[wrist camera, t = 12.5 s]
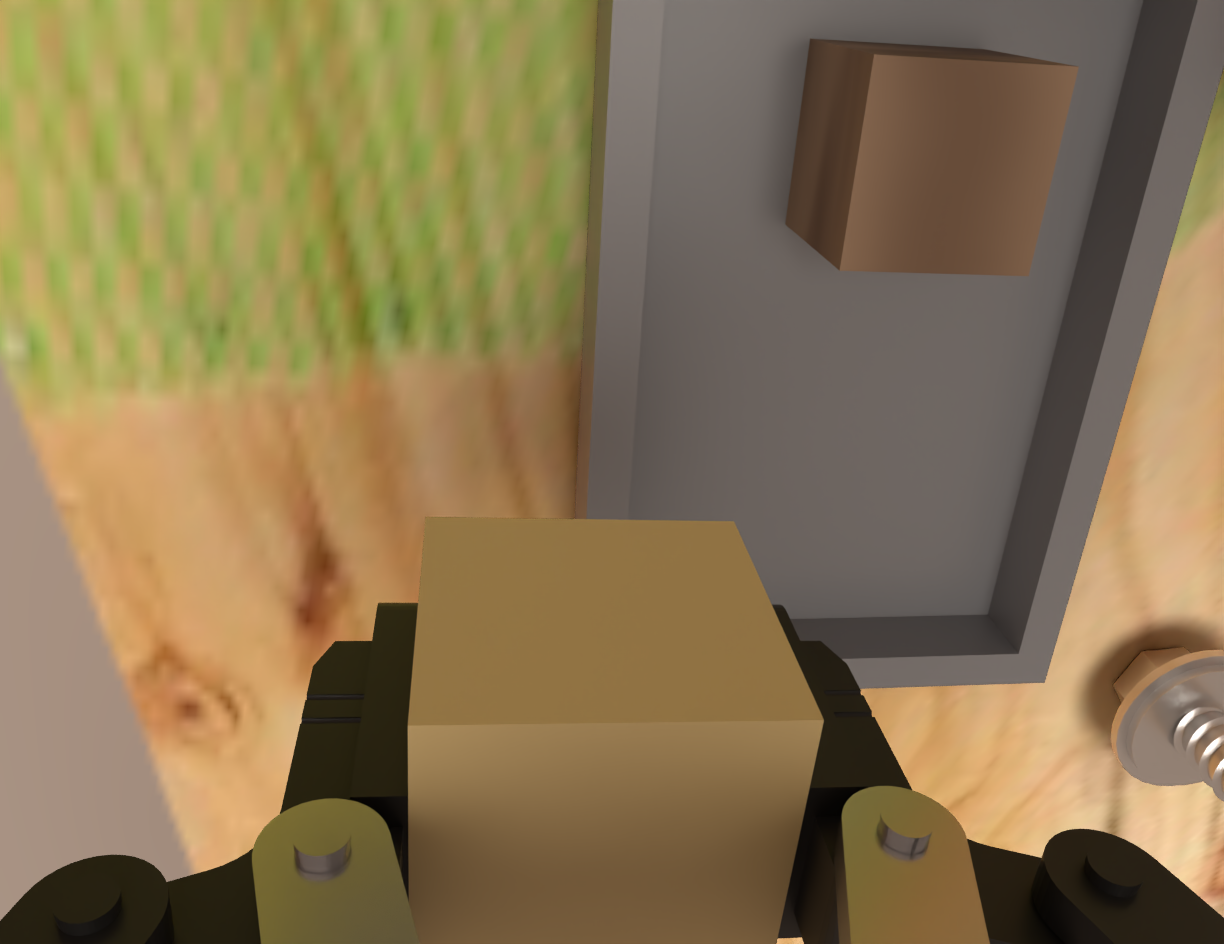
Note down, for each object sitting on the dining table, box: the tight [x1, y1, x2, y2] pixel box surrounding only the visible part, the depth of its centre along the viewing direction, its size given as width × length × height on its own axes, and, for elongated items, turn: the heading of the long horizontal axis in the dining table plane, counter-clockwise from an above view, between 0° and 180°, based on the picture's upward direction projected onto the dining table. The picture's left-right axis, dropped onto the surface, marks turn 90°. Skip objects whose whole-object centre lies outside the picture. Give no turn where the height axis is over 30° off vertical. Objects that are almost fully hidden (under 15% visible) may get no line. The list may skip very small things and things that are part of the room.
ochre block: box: [408, 517, 824, 944], centre depth 13 cm, size 4×4×4 cm
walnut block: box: [785, 39, 1079, 276], centre depth 22 cm, size 4×4×4 cm
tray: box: [575, 0, 1224, 689], centre depth 25 cm, size 13×19×2 cm
